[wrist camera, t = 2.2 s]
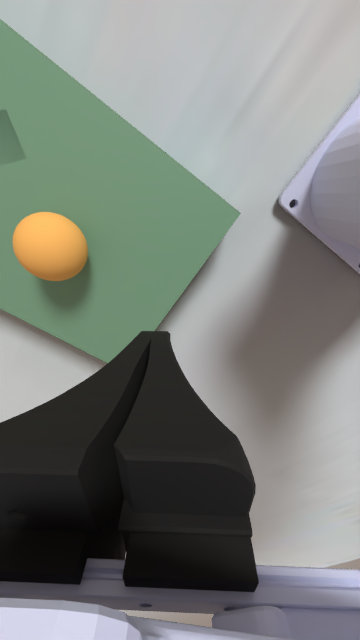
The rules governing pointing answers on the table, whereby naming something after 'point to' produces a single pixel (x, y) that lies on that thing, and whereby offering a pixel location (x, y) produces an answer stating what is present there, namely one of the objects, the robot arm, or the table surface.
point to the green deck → (95, 207)
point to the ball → (50, 246)
